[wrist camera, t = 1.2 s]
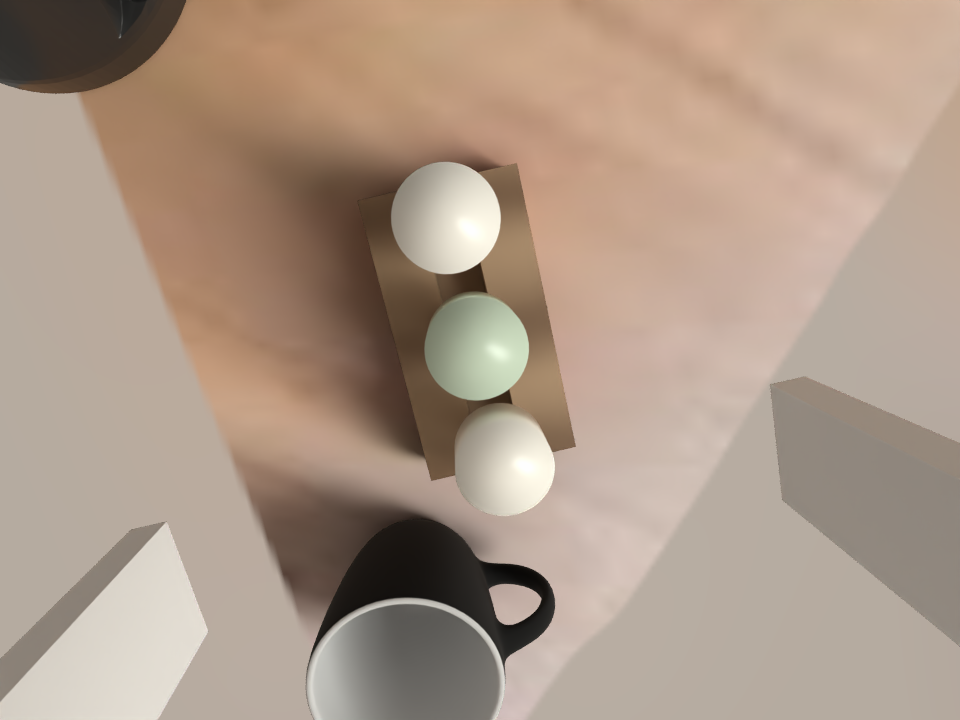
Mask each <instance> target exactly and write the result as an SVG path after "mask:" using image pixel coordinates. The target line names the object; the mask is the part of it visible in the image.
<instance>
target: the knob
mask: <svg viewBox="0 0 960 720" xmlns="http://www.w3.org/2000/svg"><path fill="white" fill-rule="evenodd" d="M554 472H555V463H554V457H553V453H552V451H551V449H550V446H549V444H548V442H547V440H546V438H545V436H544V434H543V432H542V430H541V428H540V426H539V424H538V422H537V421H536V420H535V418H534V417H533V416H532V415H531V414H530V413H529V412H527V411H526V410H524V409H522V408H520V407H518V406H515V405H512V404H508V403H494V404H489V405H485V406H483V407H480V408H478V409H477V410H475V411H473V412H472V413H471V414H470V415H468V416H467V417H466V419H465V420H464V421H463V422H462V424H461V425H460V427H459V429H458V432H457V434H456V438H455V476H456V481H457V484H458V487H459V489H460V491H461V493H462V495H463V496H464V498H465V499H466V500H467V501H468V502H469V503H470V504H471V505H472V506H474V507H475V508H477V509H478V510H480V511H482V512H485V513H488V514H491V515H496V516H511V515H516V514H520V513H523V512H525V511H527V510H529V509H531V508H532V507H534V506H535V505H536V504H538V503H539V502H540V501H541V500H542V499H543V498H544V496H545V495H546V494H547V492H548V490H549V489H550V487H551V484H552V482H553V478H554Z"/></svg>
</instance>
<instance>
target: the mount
mask: <svg viewBox="0 0 960 720" xmlns="http://www.w3.org/2000/svg"><path fill="white" fill-rule="evenodd" d="M477 173H479V174H480V175H481V176H482V177H483V178H484V179H485V180H486V181H487V182H488V183H489V185H490V186H491V188H492V189H493V191H494V193H495V195H496V197H497V200H498V203H499V207H500V214H501V222H500V230H499V234H498V237H497V240H496V242H495V244H494V246H493V248H492V250H491V251H490V252H489V254H488V255H487V256H486V257H485V258H484V259H483V260H482V261H481V262H480V263H479V264H477V265H476V266H474V267H472V268H470V269H468V270H466V271H463V272H460V273H454V274H438V273H434V272H430V271H427V270H425V269H423V268H421V267H419V266H417V265H416V264H414V263H413V262H412V261H411V260H410V259H409V258H407V257H406V255H405V254H404V253H403V252H402V250H401V249H400V247H399V246H398V244H397V241H396V239H395V237H394V234H393V230H392V224H391V211H392V205H393V201H394V198H395V195H396V193H397V191H396V192H392V193H388V194H383V195H379V196H375V197H371V198H366V199H362V200H358V205H359V209H360V212H361V216H362V220H363V224H364V227H365V231H366V235H367V239H368V243H369V246H370V250H371V254H372V258H373V262H374V265H375V269H376V273H377V277H378V281H379V284H380V288H381V292H382V296H383V299H384V303H385V307H386V311H387V315H388V318H389V322H390V326H391V330H392V334H393V337H394V341H395V345H396V349H397V353H398V356H399V360H400V364H401V368H402V371H403V375H404V379H405V383H406V387H407V390H408V394H409V398H410V402H411V406H412V409H413V413H414V417H415V421H416V425H417V428H418V432H419V436H420V440H421V443H422V447H423V451H424V455H425V459H426V462H427V466H428V470H429V474H430V478H431V481H432V480H437V479H441V478H445V477H449V476H454V475H455V438H456V434H457V432H458V429H459V427H460V425H461V424H462V422H463V421H464V420H465V419H466V417H467V416H468V415H470V414H471V413H472V412H473V411H475V410H477V409H478V408H480V407H483V406H485V405H489V404H494V403H508V404H512V405H515V406H518V407H520V408H522V409H524V410H526V411H527V412H529V413H530V414H531V415H532V416H533V417H534V418H535V420H536V421H537V422H538V424H539V426H540V428H541V430H542V432H543V434H544V436H545V438H546V440H547V442H548V444H549V446H550V449H551V451H552V452H555V451H559V450H564V449H568V448H572V447H576V446H575V441H574V436H573V431H572V427H571V422H570V417H569V412H568V407H567V403H566V398H565V393H564V388H563V383H562V378H561V374H560V369H559V364H558V359H557V354H556V350H555V345H554V340H553V335H552V330H551V325H550V321H549V316H548V311H547V306H546V301H545V296H544V292H543V287H542V282H541V277H540V272H539V268H538V263H537V258H536V253H535V248H534V243H533V239H532V234H531V229H530V224H529V219H528V215H527V210H526V205H525V200H524V195H523V190H522V186H521V181H520V176H519V171H518V166H517V163H515V164H511V165H507V166H503V167H498V168H494V169H490V170H486V171H481V172H477ZM472 291H477V292H484V293H488V294H491V295H494V296H495V297H497V298H499V299H501V300H502V301H503V302H505V303H506V304H507V305H508V306H509V307H510V308H511V310H512V311H513V312H514V313H515V314H516V315H517V317H518V318H519V319H520V321H521V322H522V324H523V326H524V328H525V330H526V333H527V337H528V342H529V354H528V360H527V364H526V367H525V369H524V371H523V373H522V375H521V377H520V378H519V379H518V381H517V382H516V383H515V384H514V385H513V386H512V387H511V388H510V389H508V390H507V391H506V392H504V393H502V394H501V395H498V396H496V397H493V398H490V399H485V400H467V399H462V398H459V397H456V396H454V395H452V394H450V393H449V392H447V391H446V390H444V389H443V388H442V387H441V386H440V385H439V384H438V383H437V382H436V381H435V380H434V378H433V377H432V375H431V373H430V371H429V369H428V366H427V363H426V359H425V349H424V348H425V340H426V335H427V331H428V327H429V324H430V321H431V318H432V317H433V315H434V313H435V312H436V310H437V309H438V308H439V307H440V306H441V304H443V303H444V302H445V301H446V300H448V299H449V298H451V297H453V296H455V295H457V294H460V293H464V292H472Z"/></svg>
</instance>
